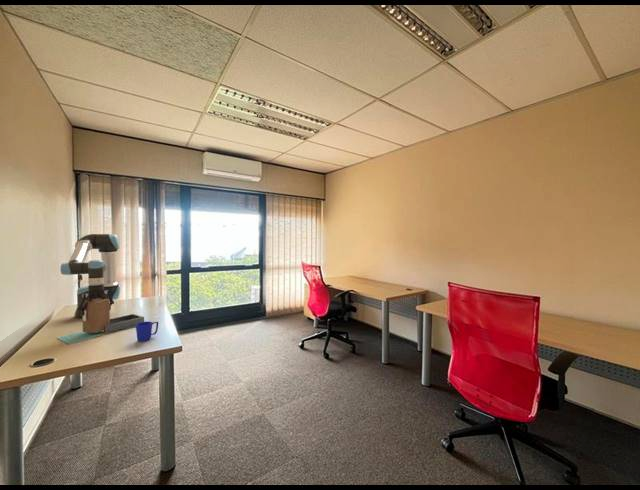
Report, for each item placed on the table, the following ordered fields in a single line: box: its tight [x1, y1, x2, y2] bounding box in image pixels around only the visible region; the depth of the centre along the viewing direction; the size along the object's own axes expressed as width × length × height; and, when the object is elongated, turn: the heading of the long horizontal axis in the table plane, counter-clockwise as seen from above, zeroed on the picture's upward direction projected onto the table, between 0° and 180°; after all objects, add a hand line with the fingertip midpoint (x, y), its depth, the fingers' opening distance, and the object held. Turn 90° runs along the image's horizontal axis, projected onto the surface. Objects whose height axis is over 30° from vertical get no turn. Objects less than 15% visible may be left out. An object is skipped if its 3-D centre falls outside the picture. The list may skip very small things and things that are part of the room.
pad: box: [56, 331, 103, 345], centre depth 161 cm, size 18×16×1 cm
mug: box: [135, 321, 159, 343], centre depth 158 cm, size 8×12×10 cm
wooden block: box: [82, 298, 111, 333], centre depth 168 cm, size 10×10×20 cm
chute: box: [103, 313, 145, 335], centre depth 180 cm, size 15×23×5 cm, turn 151°
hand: (96, 318), depth 168 cm, fingers closed on wooden block, 11 cm apart
